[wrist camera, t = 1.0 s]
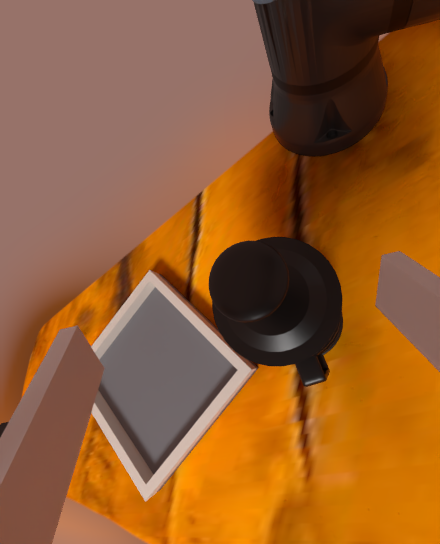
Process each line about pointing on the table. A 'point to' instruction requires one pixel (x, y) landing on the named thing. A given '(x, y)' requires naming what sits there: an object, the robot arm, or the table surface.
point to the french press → (278, 304)
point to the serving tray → (162, 381)
